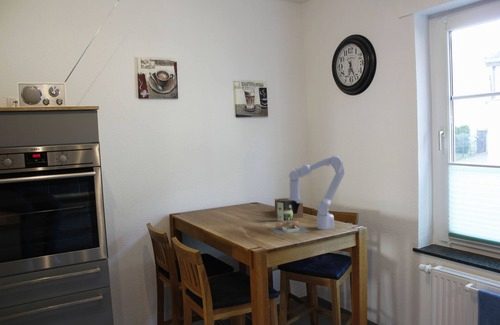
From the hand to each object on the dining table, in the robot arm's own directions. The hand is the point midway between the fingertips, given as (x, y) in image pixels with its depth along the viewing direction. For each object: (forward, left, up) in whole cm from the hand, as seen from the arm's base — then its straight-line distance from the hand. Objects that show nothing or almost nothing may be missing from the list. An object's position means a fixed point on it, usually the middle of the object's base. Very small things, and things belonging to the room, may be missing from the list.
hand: (295, 213), depth 231 cm
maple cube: (+5, 0, -8) cm, 10 cm away
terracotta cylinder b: (+10, 0, -8) cm, 13 cm away
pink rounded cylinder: (0, 0, -8) cm, 8 cm away
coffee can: (-1, -23, -10) cm, 25 cm away
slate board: (+5, +5, -9) cm, 12 cm away
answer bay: (+5, +6, -8) cm, 12 cm away
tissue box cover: (-10, -44, -10) cm, 46 cm away
